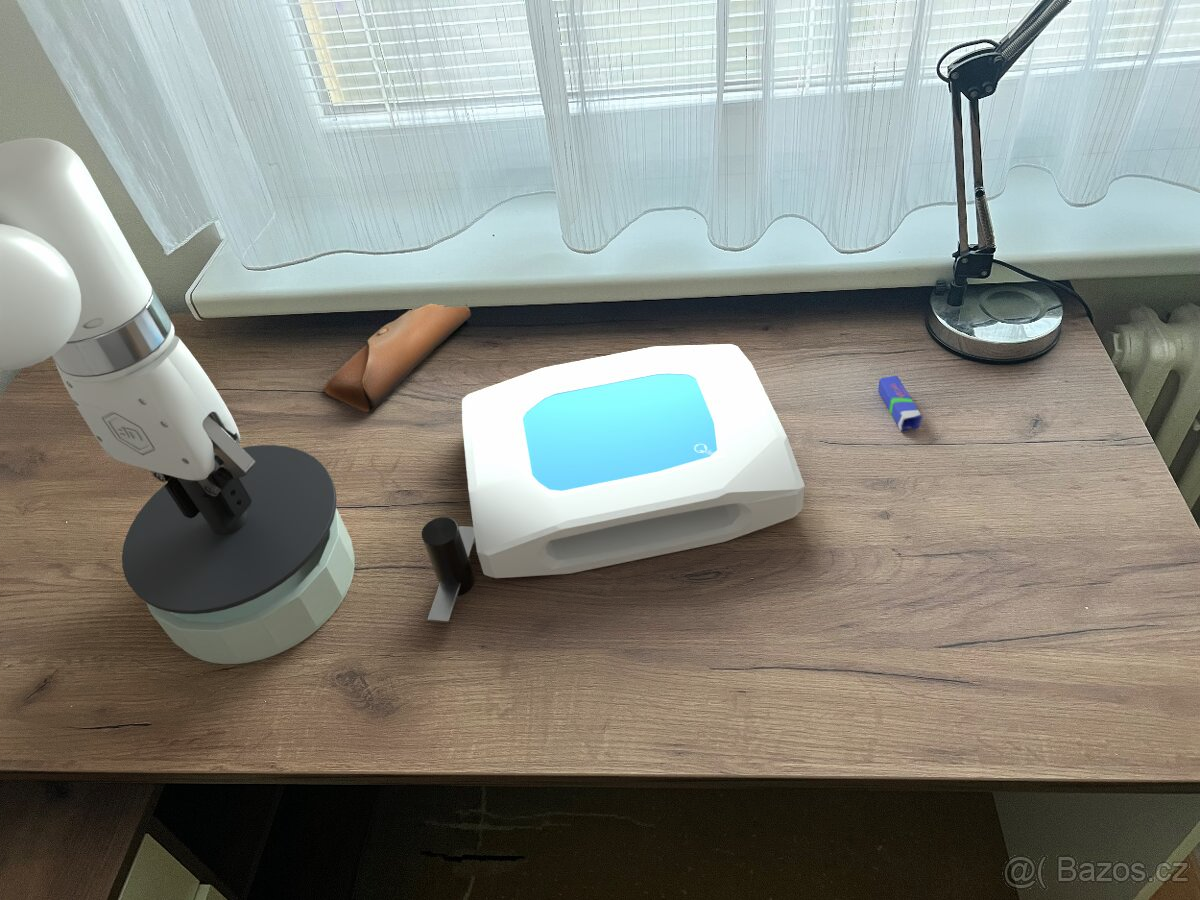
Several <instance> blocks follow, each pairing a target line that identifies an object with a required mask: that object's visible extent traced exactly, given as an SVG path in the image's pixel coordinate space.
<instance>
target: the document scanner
mask: <svg viewBox="0 0 1200 900" xmlns="http://www.w3.org/2000/svg"><path fill="white" fill-rule="evenodd" d="M461 418H462V421H461V422H462V424H461V425H462V436H463V446H464V448H463V449H464V457H465V467H466V478H467V488H468V497H469V505H470V511H471V517H472V519H471V520H472V527H474V534H475V549H476V554H477V556H478V560H479V564H480V566H481V570H482V573H483V575H484V576H487V577H490V578H493V579H504V578H505V579H506V578H522V577H536V576H551V575H568V574H569V575H570V574H575V573H579V572H584V571H589V570H594V569H599V568H604V567H608V566H609V567H610V566H614V565H619V564H623V563H627V562H628V563H629V562H634V561H638V560H642V559H647V558H653V557H658V556H662V555H669V554H672V553H678V552H681V551H686V550H691V549H697V548H701V547H706V546H710V545H716V544H720V543H725V542H729V541H731V540H734V539H737V538H739V537H742V536H745V535H748V534H750V533H753V532H757V531H759V530H762V529H765V528H768V527H771V526H773V525H776V524H779V523H782V522H784V521H787V520H790V519H793V518H795V517H796V516H797V515H798V514H799V513H800V512H802V510H803V509H804V501H805V500H804V499H805V491H806V490H805V488H806V485H805V482H804V480H803V477H802V474H801V471H800V468H799V466H798V463H797V460H796V457H795V455H794V451H793V449H792V445H791V443H790V440H789V438H788V435H787V433H786V431H785V429H784V427H783V425H782V423H781V421H780V419H779V417H778V415H777V413H776V410H775V409H774V407H773V404H772V402H771V400H770V398H769V396H768V394H767V392H766V390H765V388H764V386H763V384H762V382H761V380H760V378H759V376H758V374H757V372H756V370H755V367H754V366H753V364H752V363H751V361H750V360H749V359H748V358H747V356H746V355H745V354H744V353H743V351H742V350H741V349H740V348H739V346H737V345H734V344H732V343H725V344H724V343H723V344H697V345H696V344H693V345H668V346H663V345H662V346H650V347H646V348H640V349H634V350H630V351H624V352H620V353H619V352H617V353H614V354H613V353H612V354H609V355H605V356H604V355H603V356H598V357H594V358H587V359H582V360H578V361H571V362H566V363H562V364H555V365H550V366H546V367H545V366H544V367H541V368H538V369H535V370H532V371H530V372H527V373H524V374H522V375H521V374H520V375H519V376H516V377H513V378H511V379H508V380H504V381H502V382H499V383H496V384H494V385H491V386H488V387H487V386H486V387H485V388H482V389H479V390H477V391H473V392H471V393H468V394H467V395H465V396H464V397H463V398H462V399H461Z"/></svg>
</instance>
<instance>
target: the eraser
mask: <svg viewBox="0 0 1200 900" xmlns="http://www.w3.org/2000/svg"><path fill="white" fill-rule="evenodd" d="M877 391H878V394H879V396H880V398H881V399H882V401H883V403H884V405H885V406H886V408H887V410H888V412H889V413H890V415H891V417H892V418H893V420H894V422H895V424H896V426H897V427H898V429H899V430H900V432H902V431H908V430H916V429H919V428H920V426H921V423H922V419H923V416H922V414H921V412H920V411H919V409H918V408H917V406H916V404H915V403H914V401H913V399H912V397H911V396H910V394H909V392H908V391H907V389H906V387H905V386H904V384H903V382H902V380H901V379H900V377H899V376H898V375H891V376H885V377H881V378H880V379H879V381H878V387H877Z"/></svg>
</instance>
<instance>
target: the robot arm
mask: <svg viewBox="0 0 1200 900" xmlns="http://www.w3.org/2000/svg"><path fill="white" fill-rule="evenodd" d="M50 357H51V358H52V360H54V364H55V367H56V369H57V372H58V374H59V376H60V378H61V381H62V383H63V385H64V387H65V388H66V391H67V392H68V395H69V397H70V398H71V400H72V402H73V403H74V405H75V407H76V408H77V411H78V412H79V414H80V415H81V417H82V419H83V420H84V423H86V426H88V428H89V430H90V432H91V433H92V435H93V436H94V437H95V439H96V440H97V442H98V443H99V445H100V446H101V448H102V449H103V451H104V452H105V453H106V454H107V455H108V456H109V457H110V458H112V459H113V460H116V461H118V462H120V463H123V464H126V465H130V466H133V467H136V468H140V469H142V470H143V469H144V470H148V471H150V473H151V474H152V476H153V478H155V480H157V481H158V482H161V483H164V485H163V486H165V488H166V489H167V491H168V492H169V494H170V495H171V497H172V498H173V500H174V501H175V503H176V504H177V506H178V507H179V509H180V510H181V512H182V513H183V515H184V516H185V517H188V518H194V517H195V516H196V515H197V514H198V513H199V512H200V511H199V510H198V508H197V507H196V505H195V504H194V502H193V501H192V499H191V498H190V496H189V495H188V494H187V492H186V491H185V489H184V488H183V486H182V485H181V483H180V482H179V480H178V479H177V478H182V479H186V480H197V481H198V482H199V483H200V485H201V486H202V488H203V489H204V490H205V491H206V492H205V493H204V494H203V496H202V497H203V499H204V500H205V502H206V503H207V505H208V507H209V508H210V510H211V511H212V513H213V514H214V516H215V518H216V519H217V521H218V522H219V524H220V526H221V527H222V528H226V529H230V528H231V527H232V526H233V525H234V524H235V522H236V521H237V520H238V519H239V518H240V517H241V515H242V514H243V513H244V512H245V511H246V510H247V508H248V507H249V506H250V505H251V502H252V501H251V498H250V496H249V495H248V493H247V491H246V489H245V488H244V486H243V484H242V482H241V481H240V479H239V478H240V477H243V476H245V475H246V474H247V473H248V472H249V471H250V470H251V469H252V468H253V467H254V465H255V464H256V462H255V461H254V459H253V458H252V457H251V456H250V455H249V454H248V453H247V452H246V451H245V450H244V449H243V448H244V447H242V446H241V445H240V442H241V435H240V431H239V428H238V426H237V424H236V421H235V419H234V418H233V416H232V413H231V412H230V410H229V408H228V407H227V405H226V403H225V401H224V400H223V398H222V396H221V395H220V393H219V391H218V390H217V388H216V386H215V385H214V383H213V382H212V381H211V379H210V377H209V376H208V375H207V373H206V372H205V370H204V369H203V367H202V366H201V364H200V363H199V362H198V361H197V359H196V358H195V356H194V355H193V354H192V353H191V351H190V349H189V348H188V347H187V346H186V345H185V343H184V342H183V341H182V339H181V338H180V337H179V336H178V335H176V334H175V326H174V324H173V322H172V321H171V318H170V317H169V315H168V313H167V311H166V310H165V308H164V305H163V304H162V302H161V301H160V299H159V296H158V295H157V293H156V291H155V289H154V288H153V286H152V285H151V282H150V281H149V279H148V277H147V275H146V273H145V272H144V269H143V268H142V266H141V265H140V263H139V261H138V259H137V257H136V255H135V253H134V252H133V250H132V248H131V246H130V245H129V243H128V241H127V239H126V236H125V235H124V234H123V231H122V230H121V228H120V226H119V225H118V222H117V221H116V219H115V217H114V215H113V213H112V212H111V209H110V208H109V206H108V205H107V203H106V200H105V199H104V197H103V195H102V193H101V192H100V190H99V188H98V186H97V185H96V183H95V181H94V179H93V177H92V175H91V173H90V171H89V170H88V168H87V166H86V165H85V163H84V161H83V160H82V158H81V157H80V156H79V155H78V154H77V153H76V151H74V150H73V149H72V148H71V147H69V146H68V145H67V144H65V143H63V142H60V141H59V140H56V139H51V138H44V137H27V138H26V137H25V138H19V139H14V140H8V141H4V142H1V143H0V372H12V371H17V370H21V369H25V368H30V367H32V366H35V365H37V364H40V363H42V362H45V361H46V360H47V359H49V358H50ZM215 459H216V461H217V462H218V464H219V465H220V467H219V468H218V469H217V470H216V471H215V473H214V474H213V475H211V474H210V473H211V472H212V471H213V470H214V468H215Z"/></svg>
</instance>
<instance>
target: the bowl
mask: <svg viewBox="0 0 1200 900" xmlns="http://www.w3.org/2000/svg"><path fill="white" fill-rule="evenodd" d="M355 566H356V557H355V553H354V546H353V540H352V538H351V536H350V534H349V532H348V530H347V527H346V525H345V523H344V522H343V519H342V517H341V515H340V513H339V510H338V508H337V507H336V511H335V515H334V519H333V522H332V525H331V527H330V530H329V532H328V534H327V536H326V537H325V539H324V541H323V543H322V544H321V545H320V547H319V548H318V550H317V551H316V553H315V554H314V555H313V556H312V557H311V558H310V559H309V561H308V562H307V563H306V564H305V565H304V566H303V567H302V568H300V569H299V570H298V571H297V572H296V573H295V574H294V575H293V576H291V577H290V578H289V579H287V580H286V581H285V582H283V583H282V584H281V585H279V586H277V587H276V588H274V589H273V590H271V591H269V592H268V593H266V594H264V595H262V596H260V597H258V598H256V599H254V600H252V601H249V602H247V603H244V604H242V605H239V606H236V607H232V608H229V609H226V610H221V611H216V612H211V613H202V614H180V613H173V612H168V611H165V610H161V609H158V608H156V607H154V606H152V605H150V604H148V603H146V602H145V604H146V605H147V608H148V610H149V612H150V613H151V615H152V617H153V618H154V620H155V621H157V623H158V624H159V625H160V627H161V628H162V629H163V630H164V632H165V633H166V634H167V636H168V637H169V638H170V639H171V641H172V642H173V643H174V645H175V646H177V647H179V648H180V649H182V650H183V651H184V652H186V653H187V654H189V655H190V656H191V657H194V658H196V659H199V660H201V661H204V662H208V663H212V664H219V665H239V664H248V663H253V662H257V661H262V660H265V659H268V658H270V657H274V656H277V655H279V654H280V653H283V652H285V651H287V650H290V649H291V648H293V647H295V646H296V645H299V644H300V643H302V642H303V641H304V640H306V639H308V638H309V637H310V636H312V635H313V634H314V633H315V632H317V631H318V630H319V629H320V628H321V627H323V625H325V623H326V622H328V621H329V619H331V617H332V616H333V615H334V614H335V612H336V611H337V610H338V609H339V607H340V606H341V604H342V603H343V601H344V600H345V598H346V596H347V594H348V592H349V589H350V588H351V585H352V581H353V578H354V573H355Z"/></svg>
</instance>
